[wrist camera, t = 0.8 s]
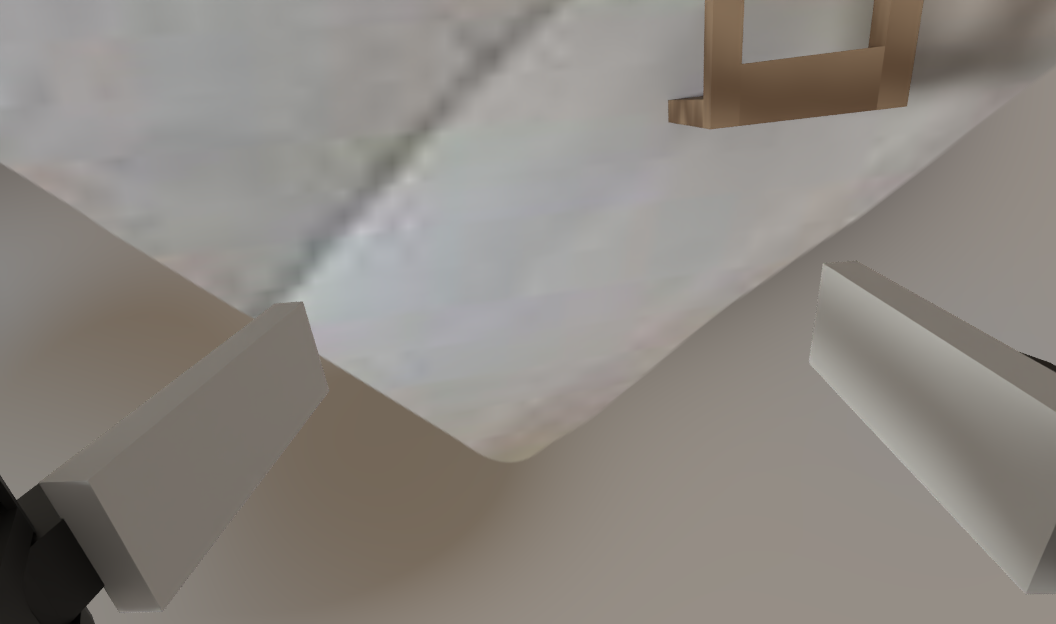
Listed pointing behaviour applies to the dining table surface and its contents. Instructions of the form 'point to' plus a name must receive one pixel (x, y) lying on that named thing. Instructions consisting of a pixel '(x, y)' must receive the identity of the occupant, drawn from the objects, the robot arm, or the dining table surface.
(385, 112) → the dining table surface
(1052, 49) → the dining table surface
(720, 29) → the brown frame with crossbar
